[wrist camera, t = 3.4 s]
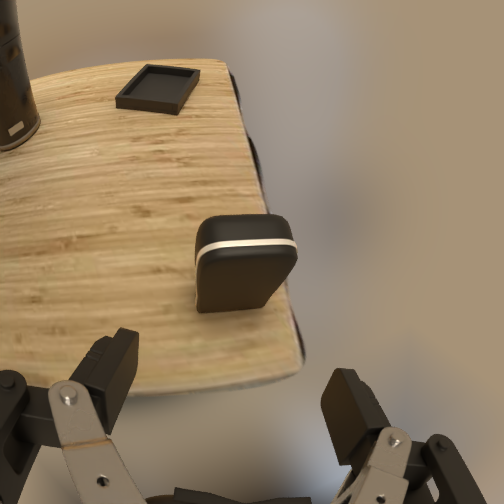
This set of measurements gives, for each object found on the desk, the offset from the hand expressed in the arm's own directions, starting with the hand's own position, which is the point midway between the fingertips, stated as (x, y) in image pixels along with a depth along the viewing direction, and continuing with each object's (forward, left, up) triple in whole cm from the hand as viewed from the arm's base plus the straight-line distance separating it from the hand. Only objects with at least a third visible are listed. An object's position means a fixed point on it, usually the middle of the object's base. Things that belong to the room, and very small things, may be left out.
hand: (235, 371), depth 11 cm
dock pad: (-18, +41, -15) cm, 48 cm away
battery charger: (0, +9, -15) cm, 18 cm away
